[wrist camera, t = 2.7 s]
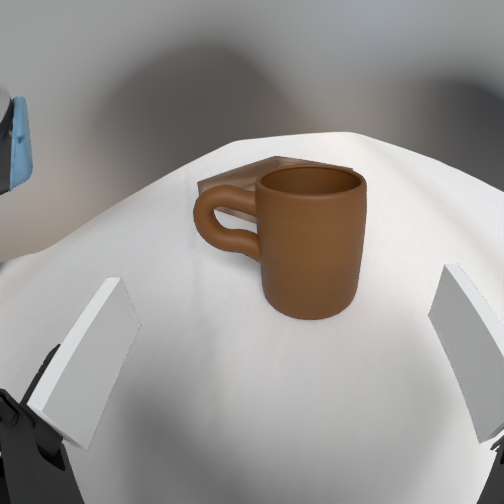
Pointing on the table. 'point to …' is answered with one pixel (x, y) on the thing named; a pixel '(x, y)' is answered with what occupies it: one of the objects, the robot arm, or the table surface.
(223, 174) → the u rest
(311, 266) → the mug
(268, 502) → the table surface
